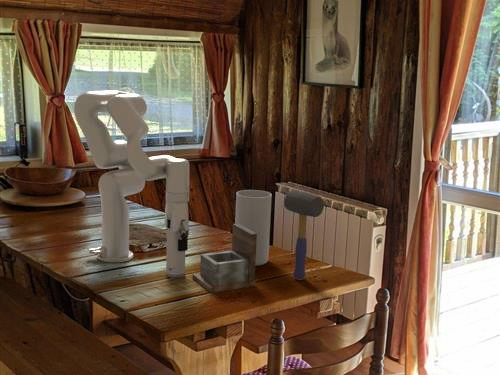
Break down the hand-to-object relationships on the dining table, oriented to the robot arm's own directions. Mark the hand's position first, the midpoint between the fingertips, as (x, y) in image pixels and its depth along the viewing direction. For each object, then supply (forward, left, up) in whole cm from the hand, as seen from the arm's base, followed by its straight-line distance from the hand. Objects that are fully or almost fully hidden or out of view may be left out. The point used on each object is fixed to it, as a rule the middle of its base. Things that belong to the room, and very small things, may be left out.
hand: (176, 246), depth 217 cm
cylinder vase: (+31, +4, -10) cm, 33 cm away
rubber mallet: (+37, -19, -10) cm, 43 cm away
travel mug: (0, 0, -10) cm, 10 cm away
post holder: (+12, -12, -10) cm, 19 cm away
